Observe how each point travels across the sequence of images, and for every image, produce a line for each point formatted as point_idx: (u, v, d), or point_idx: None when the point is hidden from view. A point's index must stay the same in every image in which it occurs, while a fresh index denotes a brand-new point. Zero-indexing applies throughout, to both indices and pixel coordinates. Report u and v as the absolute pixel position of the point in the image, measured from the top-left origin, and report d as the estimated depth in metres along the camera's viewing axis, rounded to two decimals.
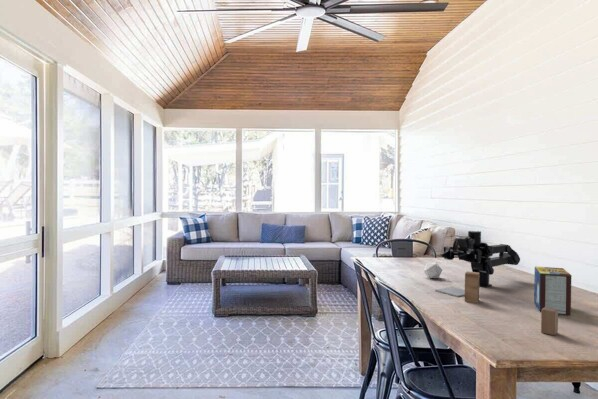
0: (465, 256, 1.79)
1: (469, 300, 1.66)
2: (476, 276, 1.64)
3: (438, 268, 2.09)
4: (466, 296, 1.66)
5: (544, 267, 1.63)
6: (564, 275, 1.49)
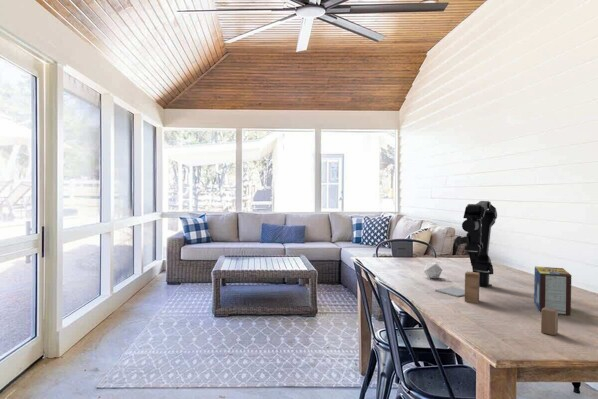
0: (472, 259, 1.77)
1: (469, 300, 1.66)
2: (476, 276, 1.64)
3: (438, 268, 2.09)
4: (466, 296, 1.66)
5: (544, 267, 1.63)
6: (564, 275, 1.49)
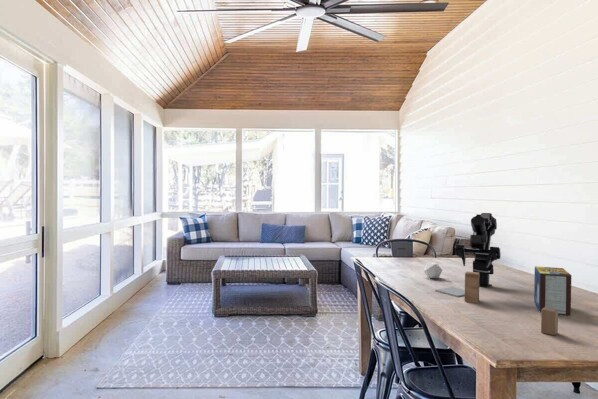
0: (489, 261, 1.73)
1: (469, 300, 1.66)
2: (476, 276, 1.64)
3: (438, 268, 2.09)
4: (466, 296, 1.66)
5: (544, 267, 1.63)
6: (564, 275, 1.49)
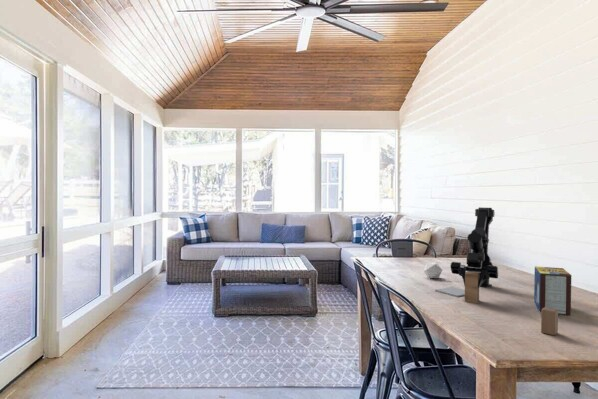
0: (482, 280, 1.66)
1: (469, 300, 1.66)
2: (476, 276, 1.64)
3: (438, 268, 2.09)
4: (466, 296, 1.66)
5: (544, 267, 1.63)
6: (564, 275, 1.49)
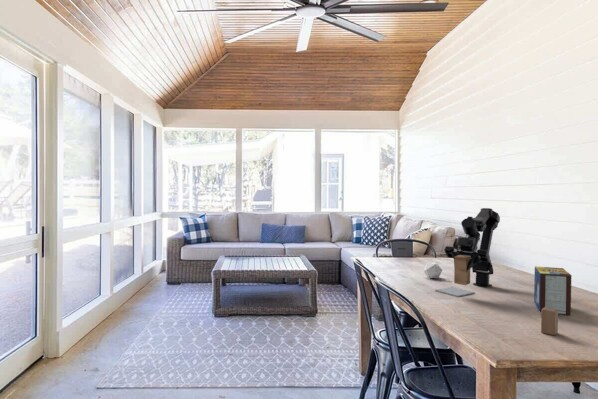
0: (471, 263, 1.72)
1: (458, 282, 1.73)
2: (464, 259, 1.71)
3: (438, 268, 2.09)
4: (455, 278, 1.74)
5: (544, 267, 1.63)
6: (564, 275, 1.49)
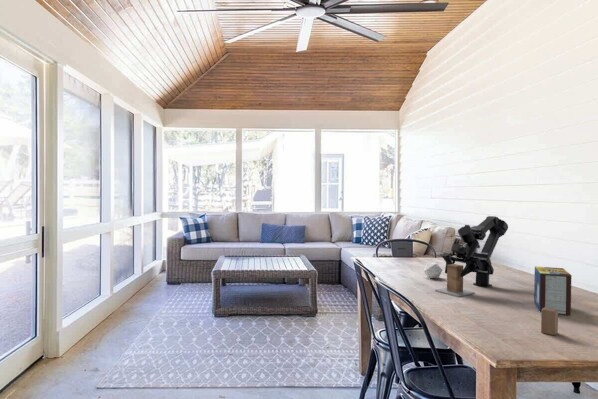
0: (466, 270, 1.77)
1: (450, 289, 1.81)
2: (455, 268, 1.78)
3: (438, 268, 2.09)
4: (448, 286, 1.82)
5: (544, 267, 1.63)
6: (564, 275, 1.49)
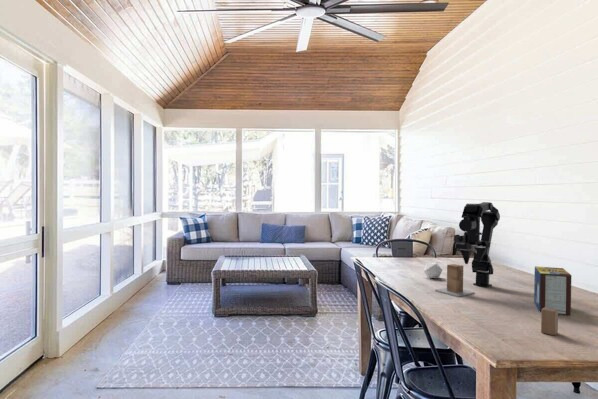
0: (464, 257, 1.82)
1: (450, 289, 1.81)
2: (455, 268, 1.78)
3: (438, 268, 2.09)
4: (448, 286, 1.82)
5: (544, 267, 1.63)
6: (564, 275, 1.49)
